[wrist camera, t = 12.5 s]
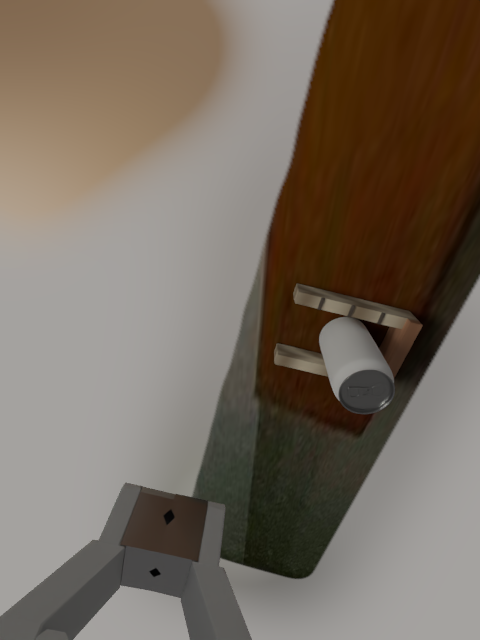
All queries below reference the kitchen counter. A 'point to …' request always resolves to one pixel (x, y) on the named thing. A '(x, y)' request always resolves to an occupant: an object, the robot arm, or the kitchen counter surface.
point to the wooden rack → (399, 320)
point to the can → (356, 366)
